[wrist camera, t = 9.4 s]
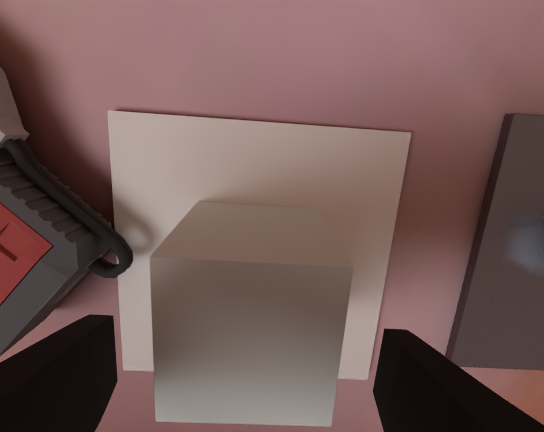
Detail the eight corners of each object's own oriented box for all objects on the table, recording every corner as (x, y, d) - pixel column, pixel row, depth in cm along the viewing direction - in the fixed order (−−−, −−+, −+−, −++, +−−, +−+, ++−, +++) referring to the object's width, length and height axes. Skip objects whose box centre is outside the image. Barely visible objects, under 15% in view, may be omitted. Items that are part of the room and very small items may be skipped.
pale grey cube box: (305, 312, 15) (330, 426, 9) (197, 307, 15) (155, 421, 9) (316, 208, 14) (353, 266, 8) (197, 201, 14) (149, 256, 8)
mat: (364, 372, 17) (367, 379, 16) (127, 363, 16) (123, 370, 16) (406, 132, 14) (411, 132, 13) (113, 110, 13) (107, 110, 13)
